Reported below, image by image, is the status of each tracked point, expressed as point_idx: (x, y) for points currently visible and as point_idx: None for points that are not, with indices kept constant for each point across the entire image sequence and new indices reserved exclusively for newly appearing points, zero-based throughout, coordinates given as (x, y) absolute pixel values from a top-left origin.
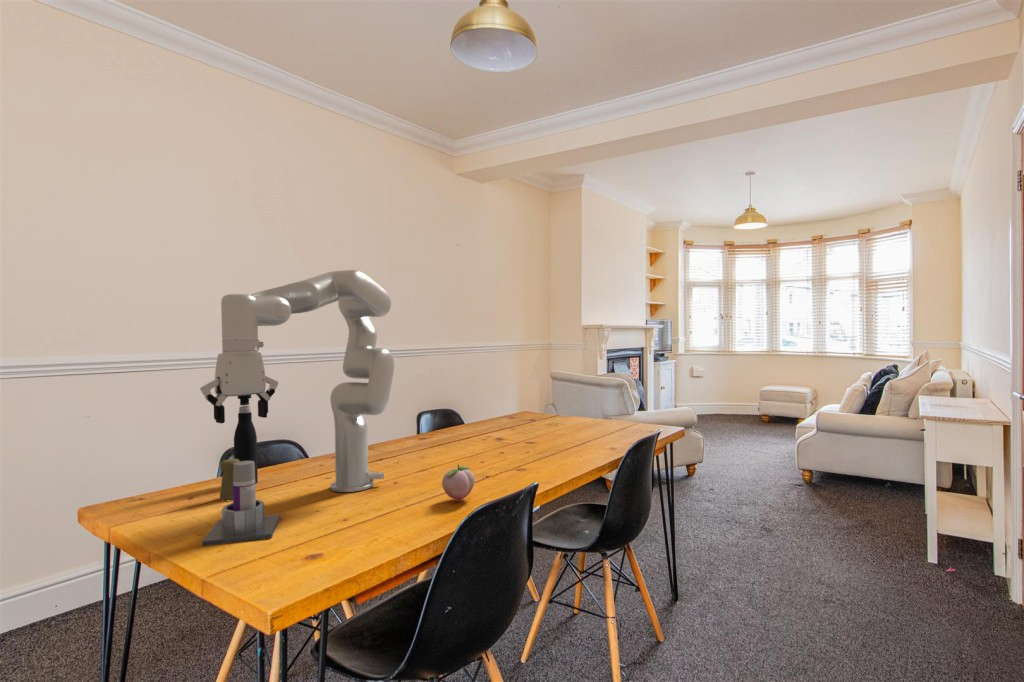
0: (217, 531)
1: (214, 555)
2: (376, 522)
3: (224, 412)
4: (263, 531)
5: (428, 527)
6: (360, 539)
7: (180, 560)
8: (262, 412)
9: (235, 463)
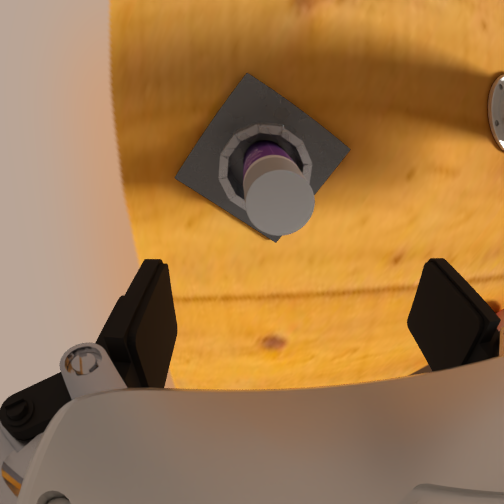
0: (215, 144)
1: (177, 236)
2: (404, 304)
3: (166, 375)
4: None
5: (409, 359)
6: (345, 339)
7: (134, 214)
8: (421, 329)
9: (255, 189)
